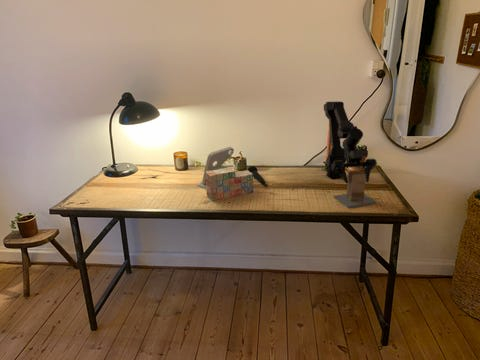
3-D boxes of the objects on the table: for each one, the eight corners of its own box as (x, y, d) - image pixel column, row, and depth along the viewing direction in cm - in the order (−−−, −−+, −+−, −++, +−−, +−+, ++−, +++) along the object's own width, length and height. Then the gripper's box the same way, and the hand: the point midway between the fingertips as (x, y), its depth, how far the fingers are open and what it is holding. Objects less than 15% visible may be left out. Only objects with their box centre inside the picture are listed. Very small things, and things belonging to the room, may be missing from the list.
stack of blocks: (248, 188, 194) (247, 164, 190) (253, 192, 189) (253, 167, 185) (206, 196, 186) (205, 171, 182) (211, 200, 181) (209, 175, 177)
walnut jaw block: (346, 196, 179) (348, 171, 175) (358, 195, 180) (361, 170, 176) (351, 201, 174) (353, 175, 170) (363, 200, 175) (365, 175, 170)
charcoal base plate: (360, 193, 185) (360, 191, 184) (376, 203, 174) (376, 201, 174) (333, 197, 181) (334, 195, 180) (348, 208, 170) (348, 206, 170)
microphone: (269, 191, 197) (252, 174, 213) (273, 181, 195) (256, 164, 211) (260, 190, 195) (243, 173, 211) (264, 180, 193) (247, 163, 209)
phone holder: (221, 175, 211) (220, 142, 204) (235, 180, 204) (234, 146, 198) (196, 185, 199) (194, 150, 192) (210, 190, 192) (208, 154, 186)
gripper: (335, 142, 171) (341, 176, 165) (377, 141, 173) (385, 173, 166) (328, 154, 181) (334, 186, 175) (368, 153, 183) (375, 184, 176)
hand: (357, 182), depth 173 cm, fingers open, 9 cm apart
